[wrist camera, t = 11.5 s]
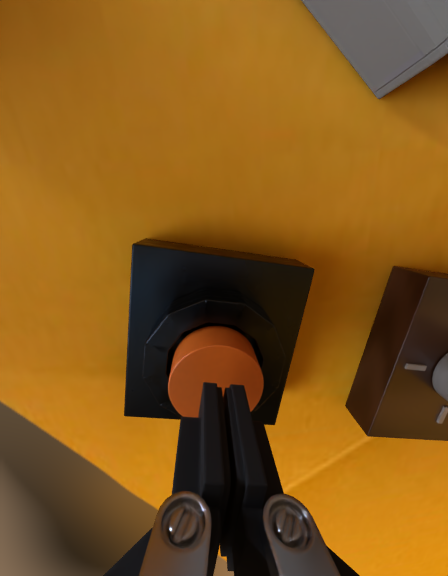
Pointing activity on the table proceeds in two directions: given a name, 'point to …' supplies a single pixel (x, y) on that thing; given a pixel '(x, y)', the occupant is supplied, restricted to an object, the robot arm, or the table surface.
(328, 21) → the digital clock
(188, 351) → the button
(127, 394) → the button box
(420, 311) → the dial panel
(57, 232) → the table surface
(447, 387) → the dial
